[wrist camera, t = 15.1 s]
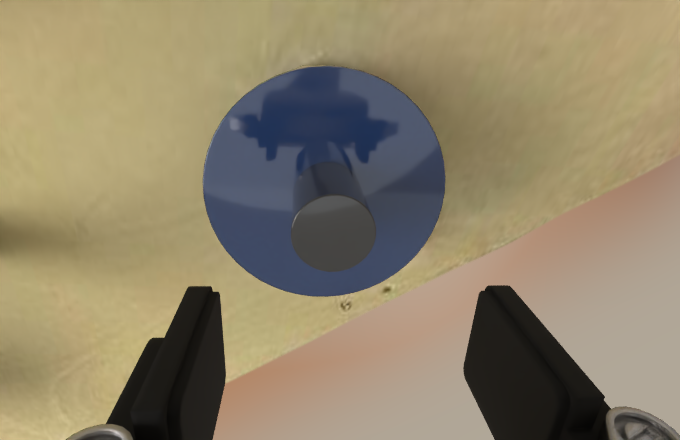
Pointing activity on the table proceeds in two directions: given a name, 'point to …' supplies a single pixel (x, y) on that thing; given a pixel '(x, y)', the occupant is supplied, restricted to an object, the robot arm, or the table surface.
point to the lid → (324, 181)
